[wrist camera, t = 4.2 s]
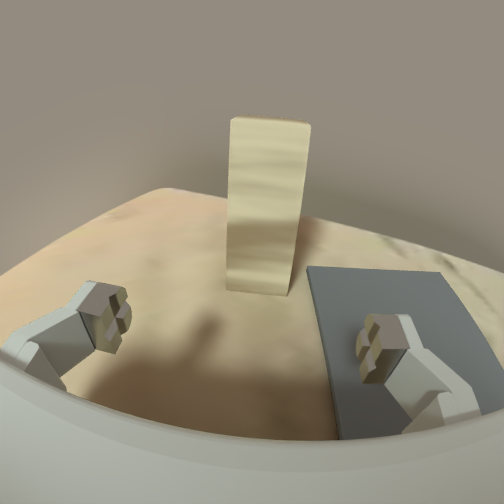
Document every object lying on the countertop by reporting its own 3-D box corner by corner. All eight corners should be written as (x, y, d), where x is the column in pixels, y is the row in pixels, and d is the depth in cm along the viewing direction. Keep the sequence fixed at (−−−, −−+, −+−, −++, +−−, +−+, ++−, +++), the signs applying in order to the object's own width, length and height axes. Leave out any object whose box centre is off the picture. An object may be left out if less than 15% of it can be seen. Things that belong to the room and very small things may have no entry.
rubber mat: (524, 427, 9) (528, 424, 8) (346, 497, 8) (350, 495, 8) (437, 276, 24) (439, 272, 24) (306, 270, 24) (307, 265, 24)
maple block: (287, 296, 21) (311, 126, 15) (226, 289, 21) (230, 119, 15) (286, 262, 25) (304, 120, 19) (234, 257, 25) (240, 114, 19)
